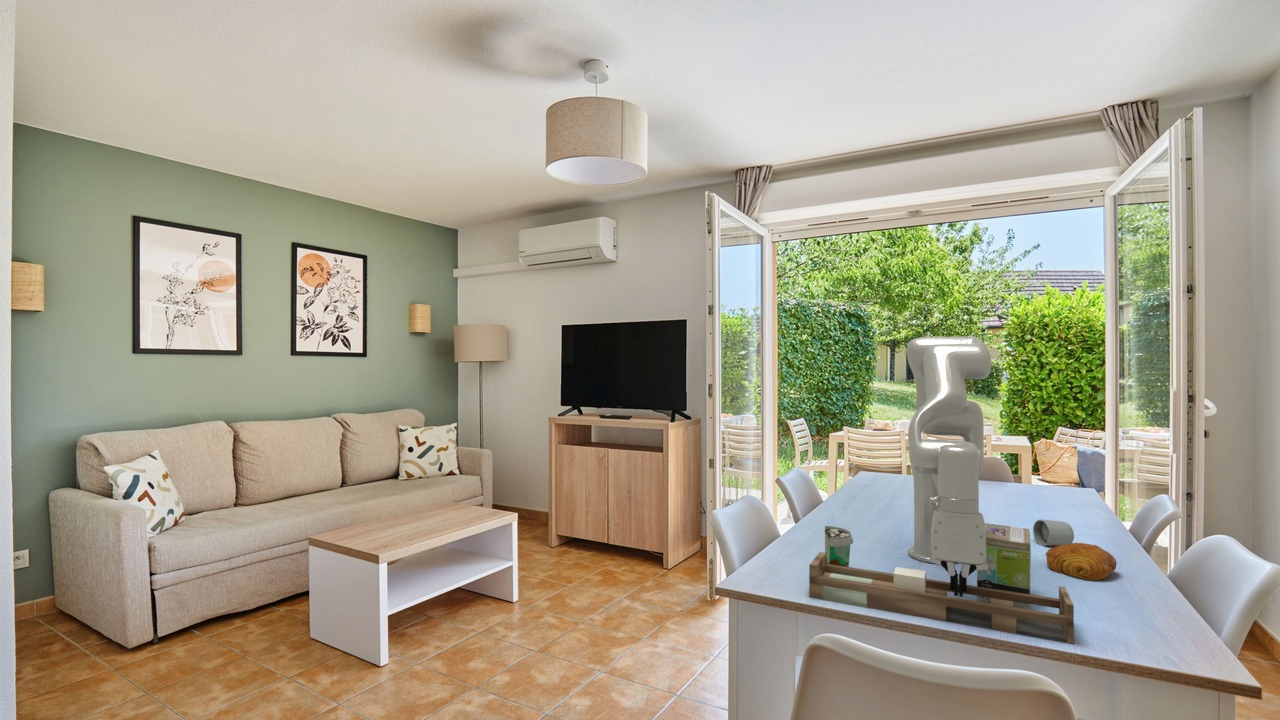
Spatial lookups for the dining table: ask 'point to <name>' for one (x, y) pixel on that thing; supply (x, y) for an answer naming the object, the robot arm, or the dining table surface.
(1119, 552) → the dining table surface
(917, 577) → the block
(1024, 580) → the tea box
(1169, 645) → the dining table surface
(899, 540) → the dining table surface
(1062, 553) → the swirled bread bun
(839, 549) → the food container
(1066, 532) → the ceramic mug
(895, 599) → the wooden rack
